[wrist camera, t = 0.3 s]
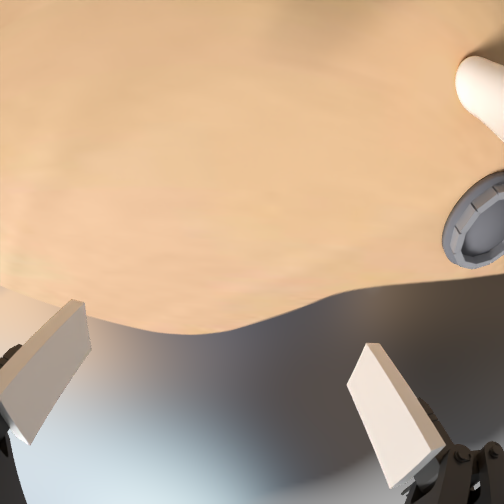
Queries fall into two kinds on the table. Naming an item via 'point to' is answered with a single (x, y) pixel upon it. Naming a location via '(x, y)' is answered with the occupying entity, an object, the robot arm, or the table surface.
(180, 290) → the table surface
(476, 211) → the coaster
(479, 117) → the drinking glass
